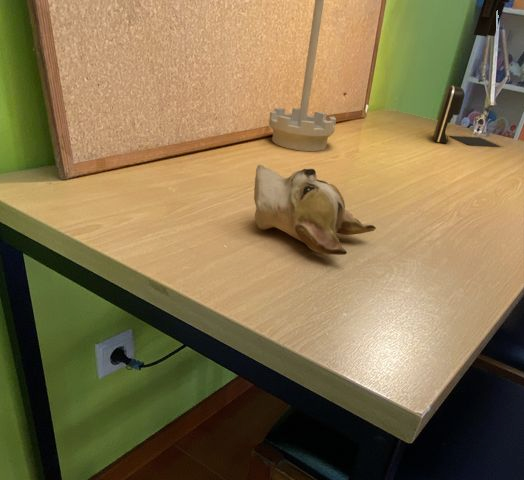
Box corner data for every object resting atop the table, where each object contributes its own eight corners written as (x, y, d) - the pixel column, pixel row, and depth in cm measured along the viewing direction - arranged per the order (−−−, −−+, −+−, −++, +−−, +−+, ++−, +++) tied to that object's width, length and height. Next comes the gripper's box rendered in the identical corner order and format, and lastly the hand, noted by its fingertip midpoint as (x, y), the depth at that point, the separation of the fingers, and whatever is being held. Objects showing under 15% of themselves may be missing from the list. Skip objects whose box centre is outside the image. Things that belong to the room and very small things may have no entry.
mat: (499, 146, 121) (500, 146, 121) (468, 145, 118) (468, 144, 118) (479, 137, 127) (479, 137, 127) (449, 136, 125) (449, 135, 125)
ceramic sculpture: (281, 143, 63) (392, 180, 59) (270, 209, 69) (371, 247, 64) (235, 159, 56) (358, 203, 51) (226, 231, 61) (337, 278, 56)
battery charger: (450, 145, 116) (467, 90, 110) (433, 142, 117) (450, 87, 110) (448, 139, 122) (465, 86, 115) (433, 136, 122) (448, 84, 116)
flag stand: (323, 156, 95) (358, -43, 78) (258, 143, 98) (278, -53, 81) (336, 142, 106) (369, -36, 88) (277, 131, 108) (298, -45, 91)
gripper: (509, -80, 112) (476, 32, 124) (496, -102, 93) (458, 33, 105) (545, -77, 109) (507, 37, 122) (539, -99, 91) (494, 38, 103)
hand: (484, 35), depth 114 cm, fingers open, 13 cm apart
